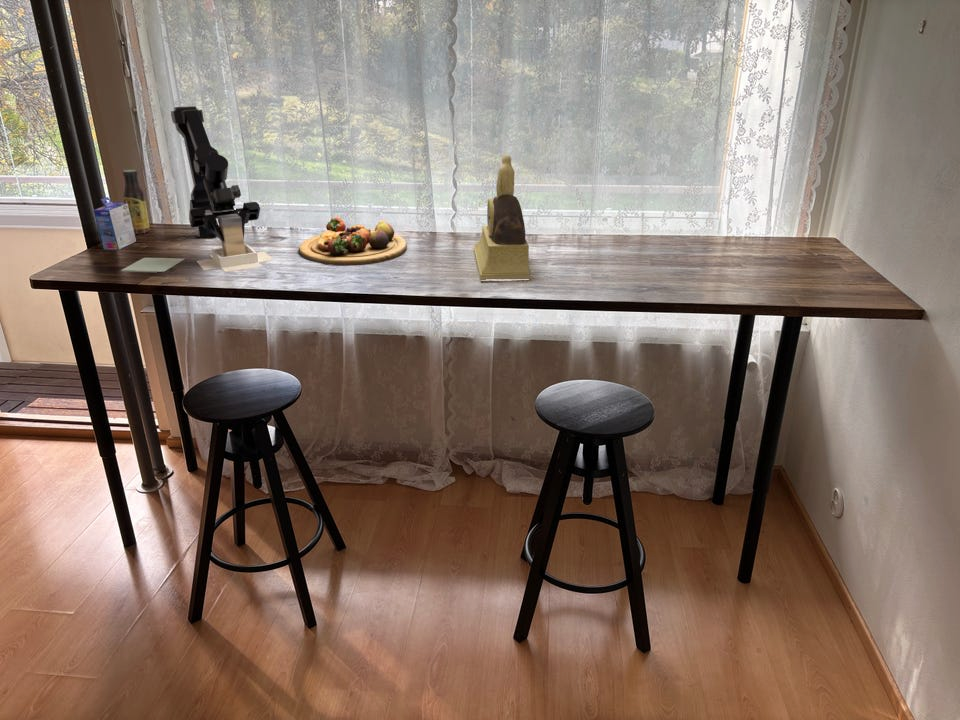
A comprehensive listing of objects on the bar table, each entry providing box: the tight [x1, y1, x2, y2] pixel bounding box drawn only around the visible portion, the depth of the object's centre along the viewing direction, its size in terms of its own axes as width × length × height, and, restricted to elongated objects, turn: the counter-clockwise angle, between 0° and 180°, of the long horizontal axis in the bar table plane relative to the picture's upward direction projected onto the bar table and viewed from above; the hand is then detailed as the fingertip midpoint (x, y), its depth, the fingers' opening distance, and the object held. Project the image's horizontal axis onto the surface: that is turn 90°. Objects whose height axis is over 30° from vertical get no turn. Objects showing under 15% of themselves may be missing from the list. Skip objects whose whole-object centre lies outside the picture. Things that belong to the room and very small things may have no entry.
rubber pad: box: [121, 257, 185, 273], centre depth 196 cm, size 12×12×1 cm
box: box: [217, 214, 245, 257], centre depth 197 cm, size 5×5×12 cm
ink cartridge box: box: [93, 196, 137, 251], centre depth 212 cm, size 10×6×14 cm, turn 174°
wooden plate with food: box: [298, 216, 408, 266], centre depth 210 cm, size 32×32×8 cm
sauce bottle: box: [122, 169, 150, 235], centre depth 225 cm, size 6×6×20 cm
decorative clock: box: [473, 154, 530, 281], centre depth 190 cm, size 28×13×30 cm, turn 4°
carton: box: [196, 244, 275, 273], centre depth 199 cm, size 19×19×3 cm
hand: (233, 239), depth 196 cm, fingers closed on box, 5 cm apart
